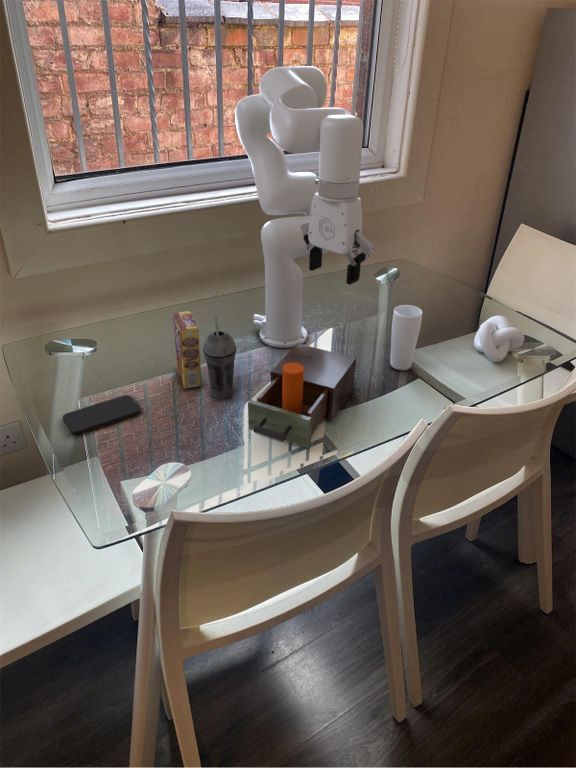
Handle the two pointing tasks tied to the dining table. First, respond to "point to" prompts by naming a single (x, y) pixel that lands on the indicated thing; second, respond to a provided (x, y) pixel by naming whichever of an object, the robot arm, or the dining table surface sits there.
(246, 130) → the robot arm
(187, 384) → the candy box
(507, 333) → the white knot sculpture
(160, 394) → the dining table surface
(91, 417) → the phone
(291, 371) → the roller
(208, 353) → the beverage cup
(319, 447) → the dining table surface
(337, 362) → the cabinet
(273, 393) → the drawer
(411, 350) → the drinking glass
